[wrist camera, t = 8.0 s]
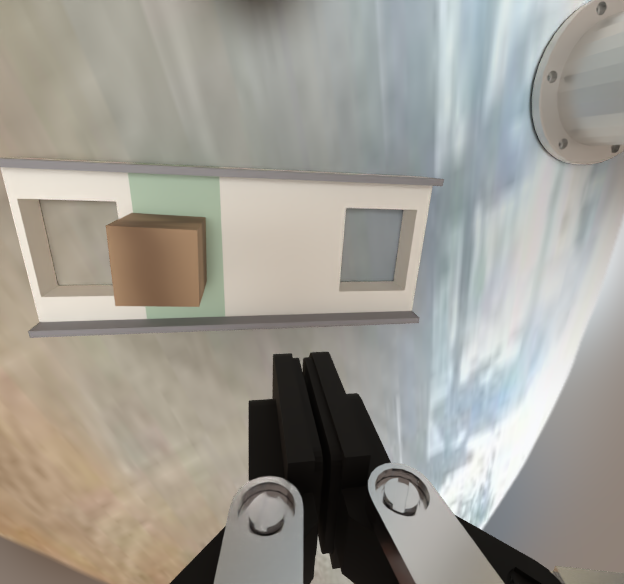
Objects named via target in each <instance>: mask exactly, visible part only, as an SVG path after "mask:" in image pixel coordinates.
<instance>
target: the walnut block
mask: <svg viewBox="0 0 624 584" xmlns="http://www.w3.org/2000/svg"><path fill="white" fill-rule="evenodd" d="M106 232H107V240H108V249H109V257H110V266H111V274H112V283H113V291H114V299H115V306H157V307H199V306H200V303H201V299H202V296H203V293H204V289H205V286H206V283H207V264H206V217H194V216H177V215H160V214H143V213H130V214H128V215H126V216H124V217H122V218H120V219H118V220H116V221H114V222H112V223H110V224H108V225H106Z"/></svg>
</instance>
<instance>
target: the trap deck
mask: <svg viewBox="0 0 624 584" xmlns="http://www.w3.org/2000/svg"><path fill="white" fill-rule="evenodd" d="M0 168H1V171H2V175H3V179H4V183H5V187H6V191H7V195H8V199H9V203H10V207H11V211H12V215H13V219H14V223H15V227H16V231H17V235H18V239H19V243H20V247H21V251H22V254H23V258H24V262H25V266H26V270H27V274H28V278H29V282H30V286H31V290H32V294H33V298H34V302H35V306H36V310H37V314H38V318H39V323H38V324H37V325H36V326H34V327H33V328H32V329H31V330H29V331H28V333H29V336H30V338H34V337H61V336H87V335H114V334H140V333H167V332H193V331H220V330H246V329H273V328H299V327H326V326H352V325H379V324H405V323H419V317H418V316H417V315H416V314H415V313H414V312H412V306H413V300H414V294H415V288H416V282H417V276H418V270H419V264H420V258H421V252H422V246H423V240H424V234H425V228H426V222H427V216H428V210H429V204H430V198H431V192H432V186H443V181H444V179H437V178H428V177H418V176H397V175H376V174H355V173H335V172H314V171H293V170H272V169H251V168H230V167H209V166H188V165H167V164H146V163H125V162H104V161H84V160H63V159H42V158H0ZM39 199H49V200H84V201H116V205H117V211H118V218H119V219H120V218H122V217H124V216H126V215H128V214H130V213H143V214H160V215H177V216H194V217H206V264H207V283H206V286H205V289H204V293H203V296H202V299H201V303H200V306H199V307H157V306H115V299H114V291H113V285H65V286H58V284H57V279H56V275H55V270H54V266H53V261H52V257H51V252H50V248H49V243H48V239H47V234H46V230H45V225H44V221H43V216H42V212H41V207H40V203H39ZM346 208H367V209H403V217H402V224H401V231H400V238H399V245H398V252H397V260H396V267H395V274H394V281H369V282H340V274H341V262H342V250H343V238H344V226H345V214H346Z"/></svg>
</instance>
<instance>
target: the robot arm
mask: <svg viewBox="0 0 624 584" xmlns="http://www.w3.org/2000/svg"><path fill="white" fill-rule="evenodd" d="M532 116H533V122H534V127H535V130H536V133H537V135H538V138H539V140H540V142H541V143H542V145H543V146H544V148H545V149H546V150H547V151H548V152H549V153H550V154H551V155H552V156H553V157H555V158H556V159H559V160H561V161H563V162H565V163H570V164H586V165H589V164H595V163H601V162H603V161H606V160H608V159H611V158H613V157H615V156H616V155H618V154H620V153H621V152H623V151H624V0H591V1H590V2H588V3H587V4H585V5H583V6H582V7H580V8H579V9H578V10H577V11H575V12H574V13H573V14H572V15H571V16H570V17H569V18H568V19H567V20H566V21H565V22H564V23H563V24H562V26H561V27H560V28H559V29H558V31H557V32H556V33H555V35H554V36H553V38H552V40H551V41H550V43H549V45H548V46H547V48H546V50H545V52H544V55H543V57H542V59H541V62H540V64H539V66H538V70H537V74H536V77H535V81H534V86H533V94H532ZM317 537H319V542H320V548H321V552H322V554H326V553H329V554H330V559H331V564H332V569H336V568H341V572H342V574H343V575H344V576H346V577H347V578H348V579H350V580H351V581H352V582H353V583H354V584H624V573H615V572H607V571H598V570H597V571H596V570H589V569H579V568H571V567H561V566H555V568H554V570H553V571H549V570H548V569H547V568H545V567H544V566H542V565H541V564H539V563H538V562H537V561H535V560H533V559H532V558H530V557H528V556H526V555H525V554H523V553H521V552H519V551H517V550H516V549H514V548H512V547H510V546H509V545H507V544H505V543H503V542H502V541H500V540H498V539H496V538H495V537H493V536H491V535H489V534H487V533H486V532H484V531H482V530H481V529H479V528H477V527H475V526H473V525H472V524H470V523H468V522H466V521H465V520H463V519H461V518H459V517H458V516H456V515H454V514H453V512H452V511H451V510H450V508H449V507H448V505H447V504H446V503H445V501H444V500H443V499H442V497H441V496H440V495H439V493H438V492H437V490H436V489H435V488H434V486H433V485H432V484H431V482H430V481H429V480H428V479H427V478H426V477H425V476H424V475H423V474H422V473H420V472H419V471H417V470H416V469H414V468H412V467H410V466H407V465H405V464H399V463H391V462H390V460H389V458H388V455H387V453H386V451H385V449H384V447H383V445H382V442H381V440H380V438H379V436H378V434H377V432H376V429H375V427H374V425H373V423H372V421H371V419H370V416H369V414H368V412H367V410H366V408H365V406H364V404H363V401H362V399H361V397H360V396H359V394H357V393H355V394H346V393H345V390H344V388H343V385H342V383H341V381H340V378H339V376H338V373H337V371H336V368H335V366H334V363H333V361H332V358H331V356H330V354H329V352H313V353H310V356H309V357H308V358H304V359H303V372H302V368H301V364H300V360H299V358H293V357H292V354H273V399H267V400H252V401H249V482H248V483H246V484H245V485H244V486H242V487H241V488H240V489H239V490H238V492H237V493H236V494H235V496H234V498H233V500H232V503H231V505H230V509H229V514H228V518H227V523H226V526H225V527H224V528H223V529H222V530H221V531H220V532H219V533H218V535H217V536H216V537H215V538H214V539H213V540H212V541H211V542H210V543H209V544H208V545H207V546H206V547H205V548H204V549H203V550H202V551H201V552H200V553H199V554H198V555H197V556H196V557H195V558H194V559H193V560H192V561H191V562H190V563H189V564H188V565H187V566H186V567H185V568H184V569H183V570H182V571H181V572H180V573H179V574H178V576H177V577H176V578H175V579H174V580H173V581H172V582H171V583H170V584H310V583H311V581H312V579H313V577H314V565H315V555H316V549H317Z"/></svg>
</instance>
